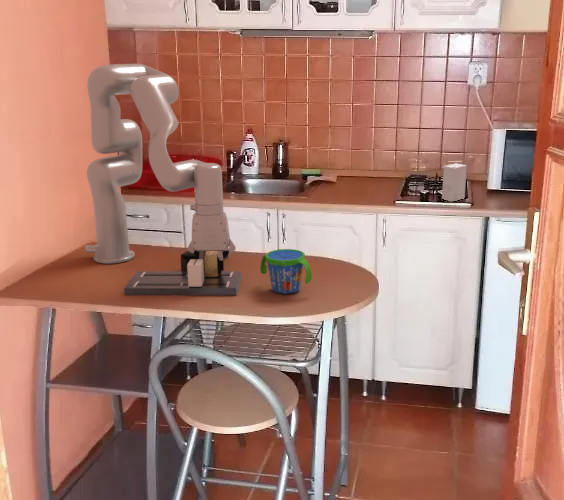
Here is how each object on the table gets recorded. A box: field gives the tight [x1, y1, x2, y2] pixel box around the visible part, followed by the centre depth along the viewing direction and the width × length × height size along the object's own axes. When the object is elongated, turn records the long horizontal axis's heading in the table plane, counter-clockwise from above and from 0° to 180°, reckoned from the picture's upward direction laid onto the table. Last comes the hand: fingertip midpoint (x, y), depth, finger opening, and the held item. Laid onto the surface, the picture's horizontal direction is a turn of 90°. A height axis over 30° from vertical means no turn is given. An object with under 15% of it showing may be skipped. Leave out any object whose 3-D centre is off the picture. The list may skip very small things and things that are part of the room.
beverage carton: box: [180, 249, 229, 271], centre depth 205 cm, size 8×19×7 cm, turn 162°
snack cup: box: [260, 248, 313, 295], centre depth 183 cm, size 16×10×10 cm
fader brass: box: [204, 251, 219, 277], centre depth 191 cm, size 4×5×6 cm
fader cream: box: [187, 259, 204, 287], centre depth 183 cm, size 4×5×6 cm
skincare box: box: [441, 162, 468, 202], centre depth 283 cm, size 8×6×15 cm
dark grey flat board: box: [123, 270, 242, 296], centre depth 188 cm, size 30×14×2 cm, turn 88°
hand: (212, 272), depth 191 cm, fingers closed on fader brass, 3 cm apart
